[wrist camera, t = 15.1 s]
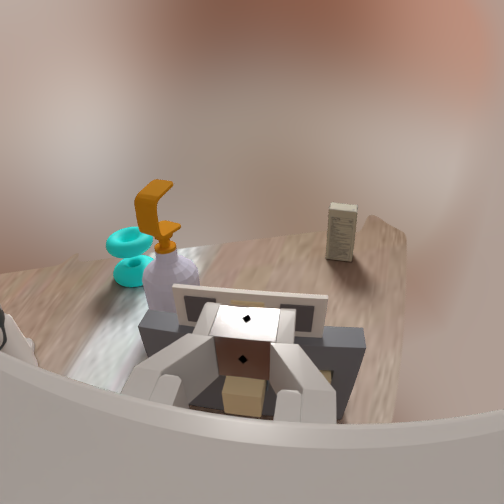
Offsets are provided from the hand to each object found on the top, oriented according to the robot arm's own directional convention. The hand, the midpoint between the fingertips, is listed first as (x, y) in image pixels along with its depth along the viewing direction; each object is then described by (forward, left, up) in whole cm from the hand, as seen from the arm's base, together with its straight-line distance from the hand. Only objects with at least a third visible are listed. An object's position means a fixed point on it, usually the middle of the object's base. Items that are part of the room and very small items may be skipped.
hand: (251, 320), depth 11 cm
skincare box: (+11, +57, -30) cm, 65 cm away
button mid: (-3, +14, -24) cm, 28 cm away
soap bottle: (-18, +31, -30) cm, 47 cm away
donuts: (-32, +43, -30) cm, 62 cm away
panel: (-3, +16, -30) cm, 34 cm away
